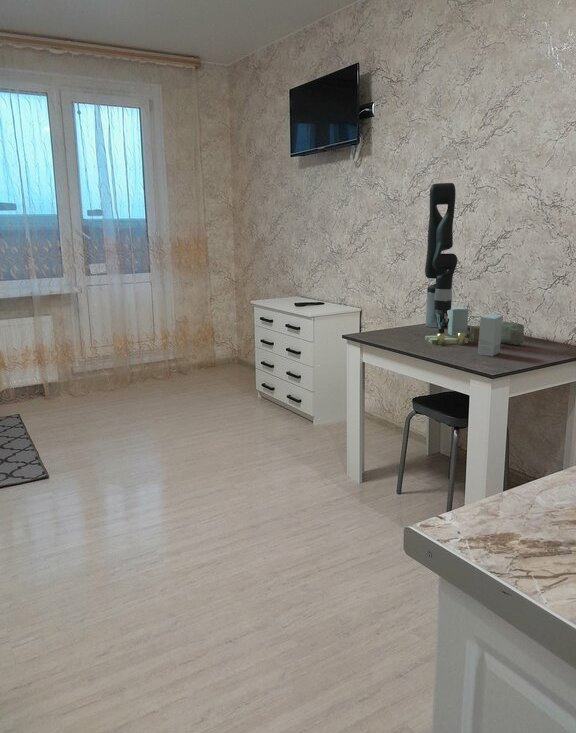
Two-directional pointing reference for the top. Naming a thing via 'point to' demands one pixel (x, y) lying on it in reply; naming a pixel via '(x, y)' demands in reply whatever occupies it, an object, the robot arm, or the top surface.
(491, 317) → the skincare box
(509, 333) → the stone
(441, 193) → the robot arm
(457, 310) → the supplement box
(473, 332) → the walnut block
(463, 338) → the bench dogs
